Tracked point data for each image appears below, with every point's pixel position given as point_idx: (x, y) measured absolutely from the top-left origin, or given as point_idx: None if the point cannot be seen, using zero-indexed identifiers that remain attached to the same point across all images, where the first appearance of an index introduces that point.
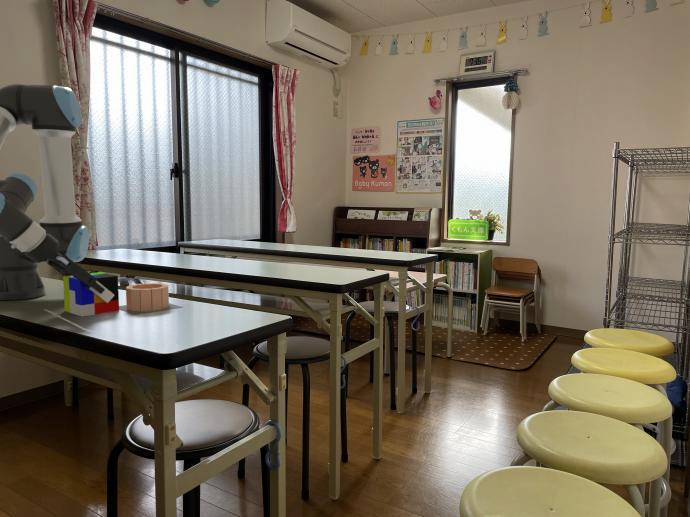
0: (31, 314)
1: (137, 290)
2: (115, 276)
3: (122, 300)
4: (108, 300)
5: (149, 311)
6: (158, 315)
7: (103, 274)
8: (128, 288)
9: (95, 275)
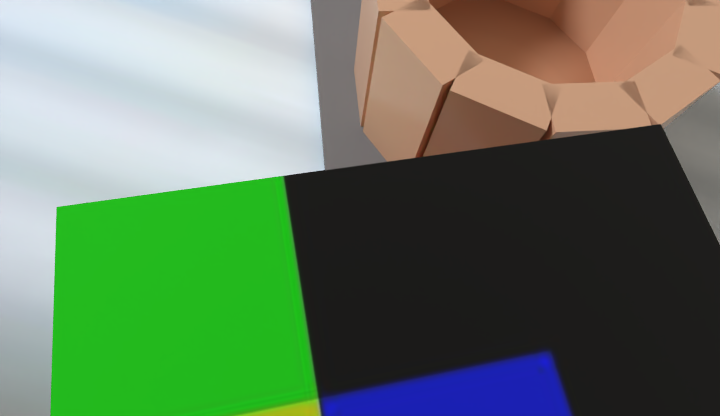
0: None
1: (700, 95)
2: (672, 159)
3: (50, 119)
4: None
5: None
6: (705, 124)
7: (395, 243)
8: (597, 124)
9: (446, 400)
